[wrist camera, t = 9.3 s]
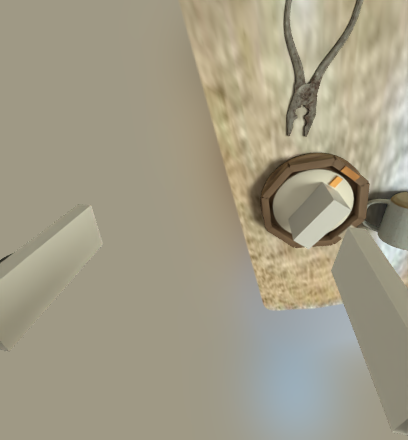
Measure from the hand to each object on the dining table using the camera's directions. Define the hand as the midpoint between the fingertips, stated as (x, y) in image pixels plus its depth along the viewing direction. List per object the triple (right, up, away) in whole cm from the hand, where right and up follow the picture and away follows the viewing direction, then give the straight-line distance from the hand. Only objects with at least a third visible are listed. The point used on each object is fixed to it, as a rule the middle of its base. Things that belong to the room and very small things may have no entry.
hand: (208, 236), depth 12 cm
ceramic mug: (+34, +3, +31) cm, 46 cm away
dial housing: (+20, +5, +33) cm, 39 cm away
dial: (+20, +4, +31) cm, 37 cm away
